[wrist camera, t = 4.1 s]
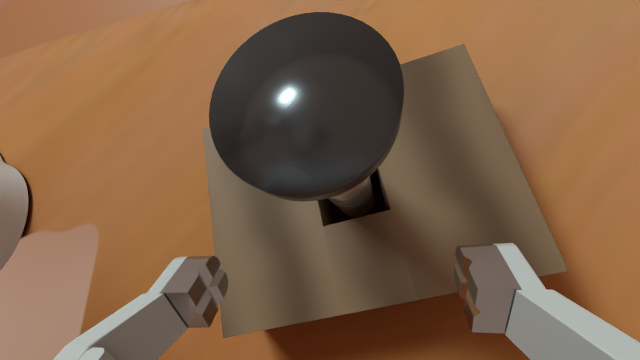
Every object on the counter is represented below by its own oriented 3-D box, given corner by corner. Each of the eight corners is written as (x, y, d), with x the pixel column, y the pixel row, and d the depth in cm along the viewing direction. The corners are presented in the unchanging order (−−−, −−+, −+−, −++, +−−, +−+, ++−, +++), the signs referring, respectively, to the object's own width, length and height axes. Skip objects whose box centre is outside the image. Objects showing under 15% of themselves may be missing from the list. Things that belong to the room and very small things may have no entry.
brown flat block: (257, 319, 22) (223, 337, 17) (235, 151, 26) (203, 129, 22) (522, 266, 19) (568, 271, 14) (447, 85, 23) (463, 44, 19)
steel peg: (330, 240, 22) (219, 218, 7) (316, 176, 24) (201, 49, 9) (399, 224, 22) (434, 160, 6) (379, 159, 23) (371, -15, 8)
